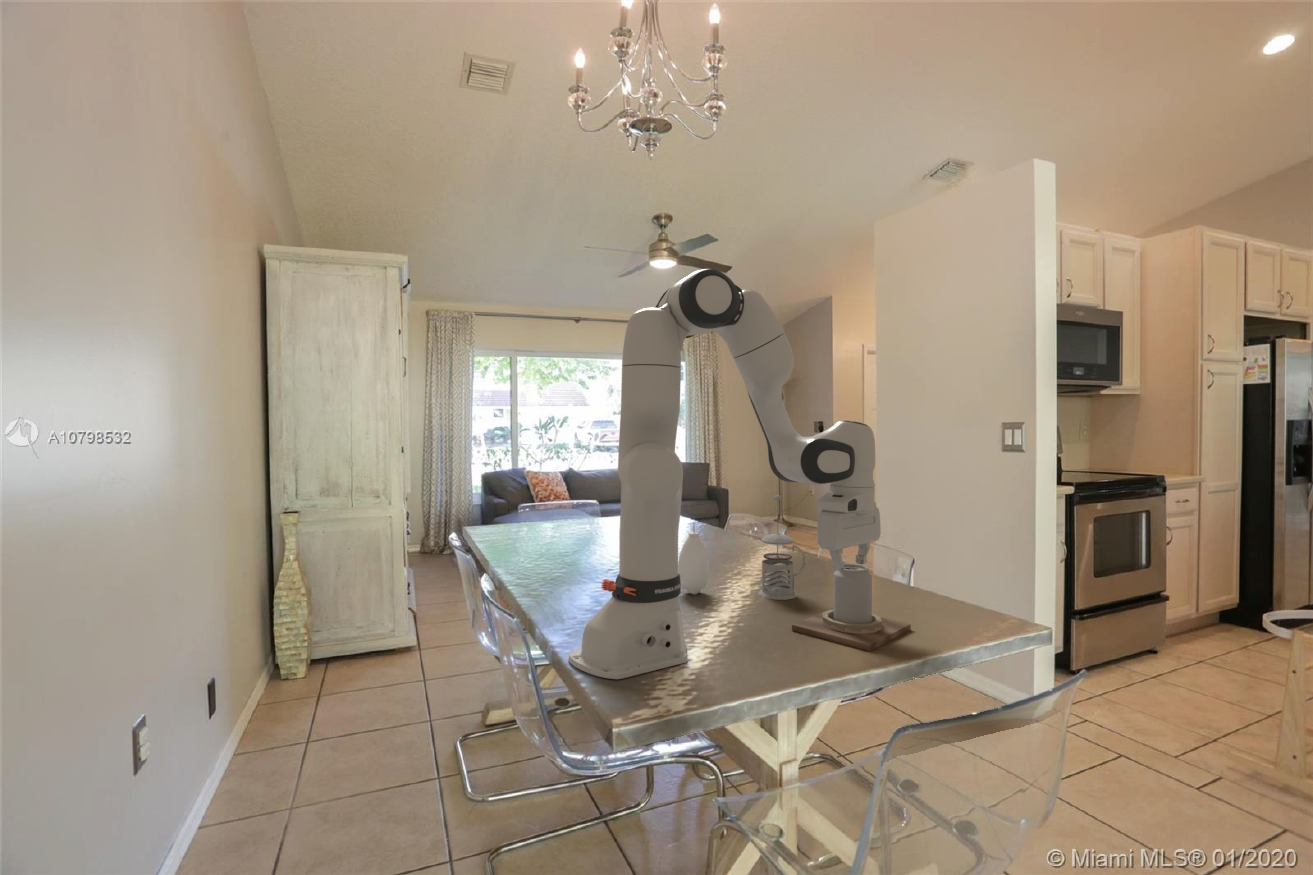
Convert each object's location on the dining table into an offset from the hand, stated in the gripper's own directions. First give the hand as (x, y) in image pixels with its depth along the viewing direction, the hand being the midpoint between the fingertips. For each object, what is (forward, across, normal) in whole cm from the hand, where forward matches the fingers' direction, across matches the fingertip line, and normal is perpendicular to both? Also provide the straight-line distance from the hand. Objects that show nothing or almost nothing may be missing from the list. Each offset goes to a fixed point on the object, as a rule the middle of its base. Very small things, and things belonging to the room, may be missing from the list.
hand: (850, 566), depth 128 cm
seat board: (+13, 0, 0) cm, 13 cm away
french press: (+13, -14, -26) cm, 32 cm away
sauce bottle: (+14, +1, -42) cm, 44 cm away
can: (+12, -1, 0) cm, 12 cm away
